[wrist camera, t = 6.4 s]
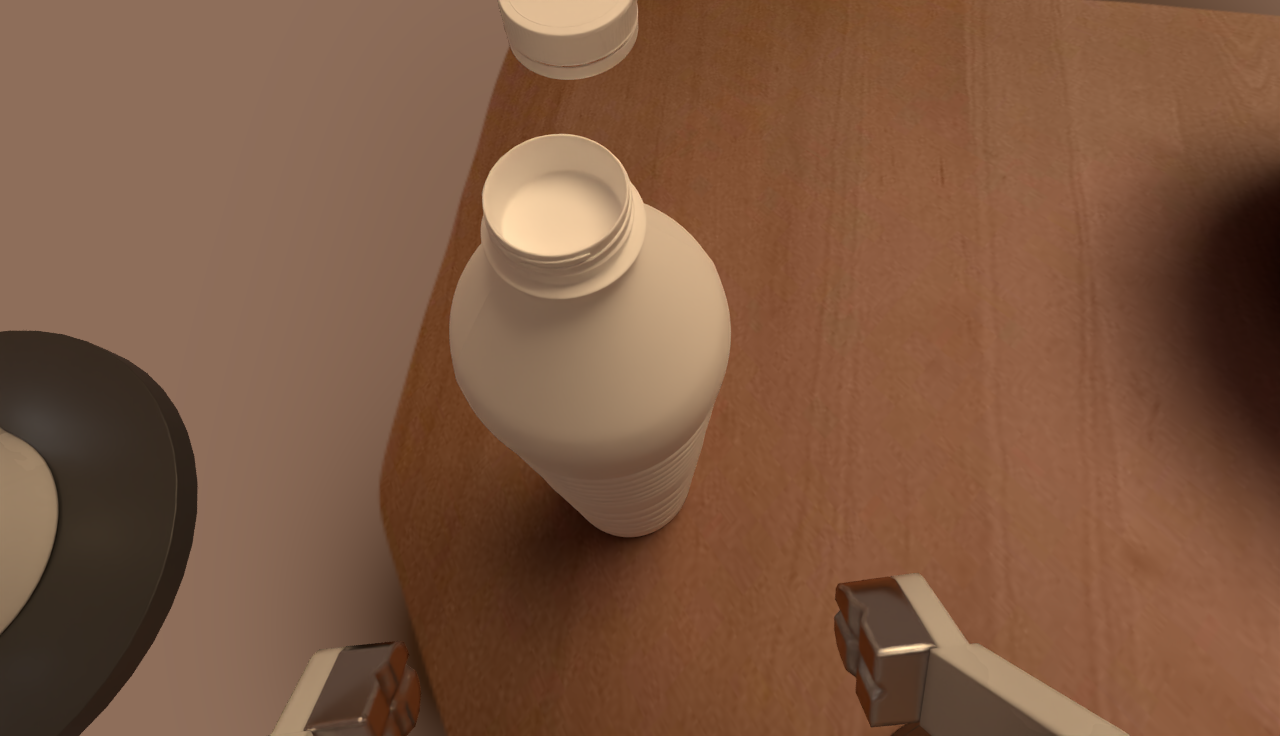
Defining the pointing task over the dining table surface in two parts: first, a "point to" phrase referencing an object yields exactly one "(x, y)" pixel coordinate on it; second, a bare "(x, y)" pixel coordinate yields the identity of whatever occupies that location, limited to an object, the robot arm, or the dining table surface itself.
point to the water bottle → (588, 302)
